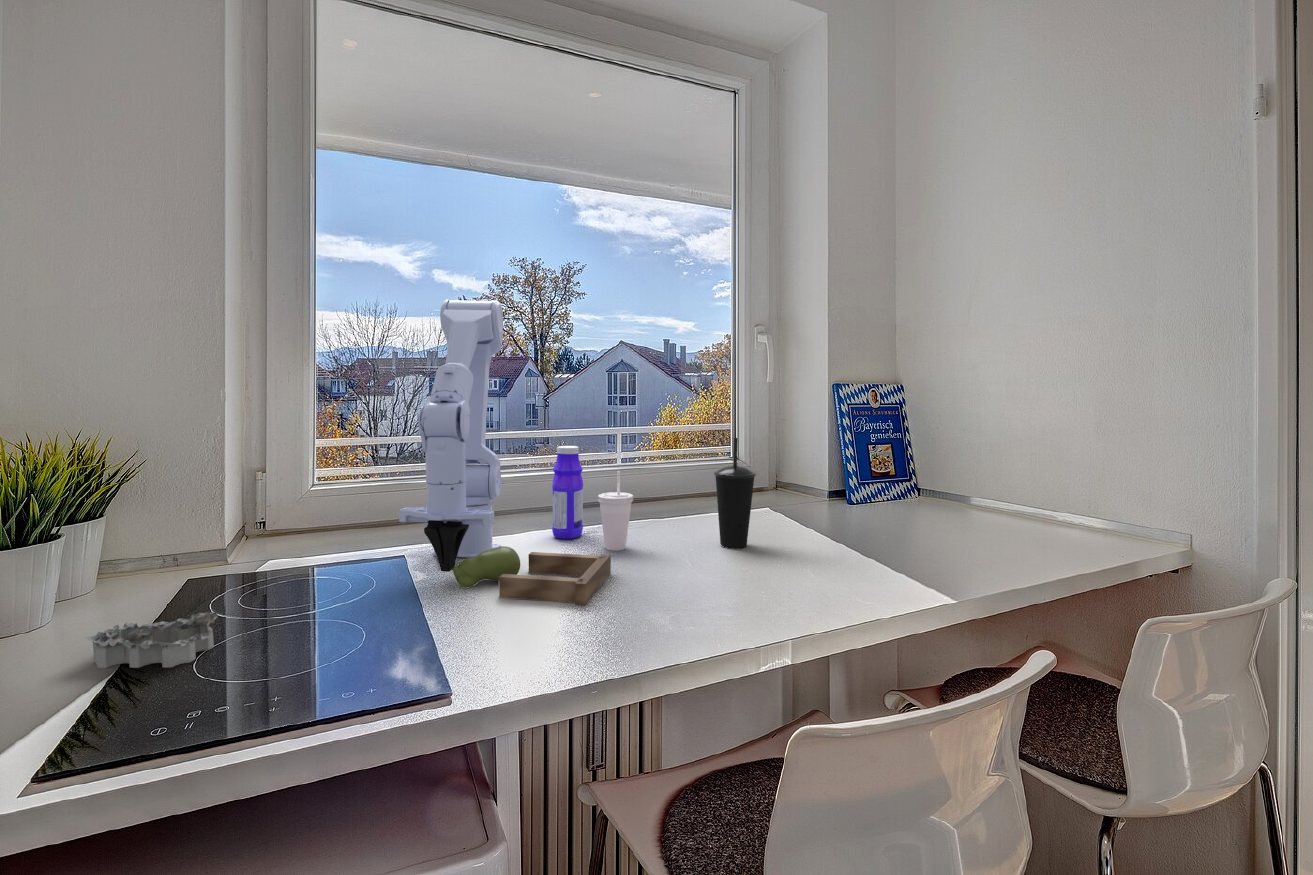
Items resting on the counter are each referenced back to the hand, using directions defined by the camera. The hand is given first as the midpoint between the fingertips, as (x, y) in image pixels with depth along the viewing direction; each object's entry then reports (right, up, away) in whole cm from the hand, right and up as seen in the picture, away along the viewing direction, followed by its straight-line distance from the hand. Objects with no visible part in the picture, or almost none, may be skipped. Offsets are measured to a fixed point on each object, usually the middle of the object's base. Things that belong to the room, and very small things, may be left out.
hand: (447, 569), depth 104 cm
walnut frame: (+17, -2, -3) cm, 17 cm away
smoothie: (+24, 0, +19) cm, 31 cm away
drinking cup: (+46, 0, +22) cm, 51 cm away
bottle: (+15, +1, +28) cm, 32 cm away
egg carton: (-24, -4, -28) cm, 37 cm away
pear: (+6, -2, -1) cm, 7 cm away
